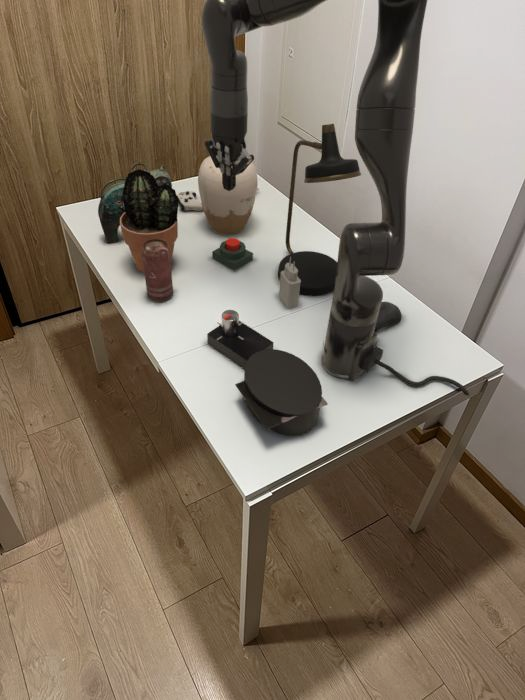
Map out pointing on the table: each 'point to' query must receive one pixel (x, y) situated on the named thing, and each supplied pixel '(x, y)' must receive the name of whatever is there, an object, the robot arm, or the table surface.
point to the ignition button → (232, 244)
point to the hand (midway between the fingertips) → (228, 188)
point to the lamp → (311, 265)
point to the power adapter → (289, 286)
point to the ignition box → (232, 256)
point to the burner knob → (230, 323)
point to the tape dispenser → (282, 392)
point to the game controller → (189, 201)
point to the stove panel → (238, 343)
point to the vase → (226, 198)
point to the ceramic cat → (121, 203)
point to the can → (157, 270)
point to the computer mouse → (387, 316)
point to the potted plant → (148, 214)
